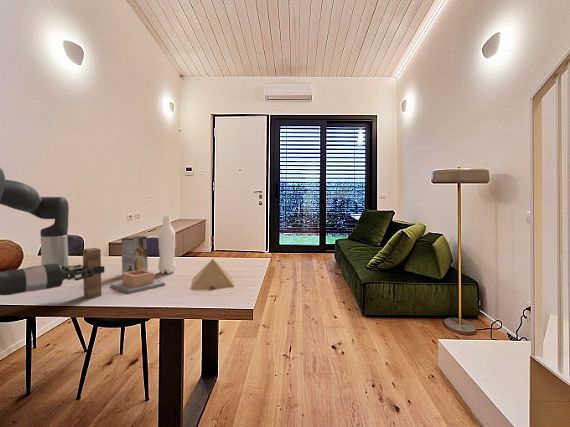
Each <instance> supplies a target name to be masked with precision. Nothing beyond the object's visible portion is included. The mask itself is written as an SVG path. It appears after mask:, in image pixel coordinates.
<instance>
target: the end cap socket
mask: <svg viewBox="0 0 570 427" xmlns="http://www.w3.org/2000/svg"><path fill="white" fill-rule="evenodd" d="M154 274H155V273H154V272H153V271H149V270H148V271H147V270H143V269H142V270H137V271H131V272H125V273H122V277H121V278H122V281H118V282H113V283H110V287H111V288H113V289H117V290H119V291H122V292H124V293H126V294H133V293H137V292H142V291H145V290H150V289H156V288H158V287H163V286H166V282H164V281H161V280H158V279H155V278H154V277H155V275H154Z"/></svg>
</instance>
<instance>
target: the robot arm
mask: <svg viewBox="0 0 570 427" xmlns="http://www.w3.org/2000/svg"><path fill="white" fill-rule="evenodd" d="M0 205H2V206H6V207H8V208H11V209H14V210H16V211H21V212H25V213H28V214H31V215H32V216H34V217H36V218H38V219H41V220H54V222H53V224H51V225H50V226H48V227H44V228H41V229H40V234H39V236H40V257H41V259H40V260H41V263H40V264H41V265H33V266H29V267H23V268H17V269H9V270H4V271H0V296H12V295H18V294H22V293H23V294H24V293H29V292H31V293H32V292H38V291H43V290H49V289H55V288H60V287H61V286H62V285H63V281H64V280H67V281H81V280H84V279H85V278H89V277H93V274H99V273H101V274H103V273H105V266H103V265H101V266H99V267H93V268H91V267H90V268H84V267H83V264H75V265H69V243H68V242H69V241H68V237H69V236H68V230H69V212H70V211H69V208H70V207H69V202H68V200H67V198H66V197H64V196H63V197H62V196H61V197H60V196H40V195H39V192H38V191H37V190H36V189H35V188H34V187H32V186H30V185H28V184H26V183H24V182H20V181H16V180H10V179H6V176H5V173H4V171H3V169H2V168H1V167H0ZM87 272H88V273H89V274H87Z"/></svg>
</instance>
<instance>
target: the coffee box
mask: <svg viewBox="0 0 570 427" xmlns="http://www.w3.org/2000/svg"><path fill="white" fill-rule="evenodd" d="M120 239H121V240H120V241H121V264H122V265H121V268H122V269H121V272H122V273H125V272H131V271H137V270H142V269H143V270H147V271H149V270H148V268H149V267H148V236H146V235H145V236H143V235H133V236H127V237H123V238H122V237H121V238H120Z"/></svg>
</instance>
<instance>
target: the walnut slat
mask: <svg viewBox="0 0 570 427" xmlns="http://www.w3.org/2000/svg"><path fill="white" fill-rule="evenodd" d="M101 256H102V255H101V248H97V247H92V248H84V249H82V265H83V267H84V268H90V267H91V268H93V267H99V266H102V257H101ZM87 274H89V273H88V272H87ZM101 296H102V273H99V274H93V277H89V278H85V279H83V297H85V298H87V299H91V298H97V297H101Z"/></svg>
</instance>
